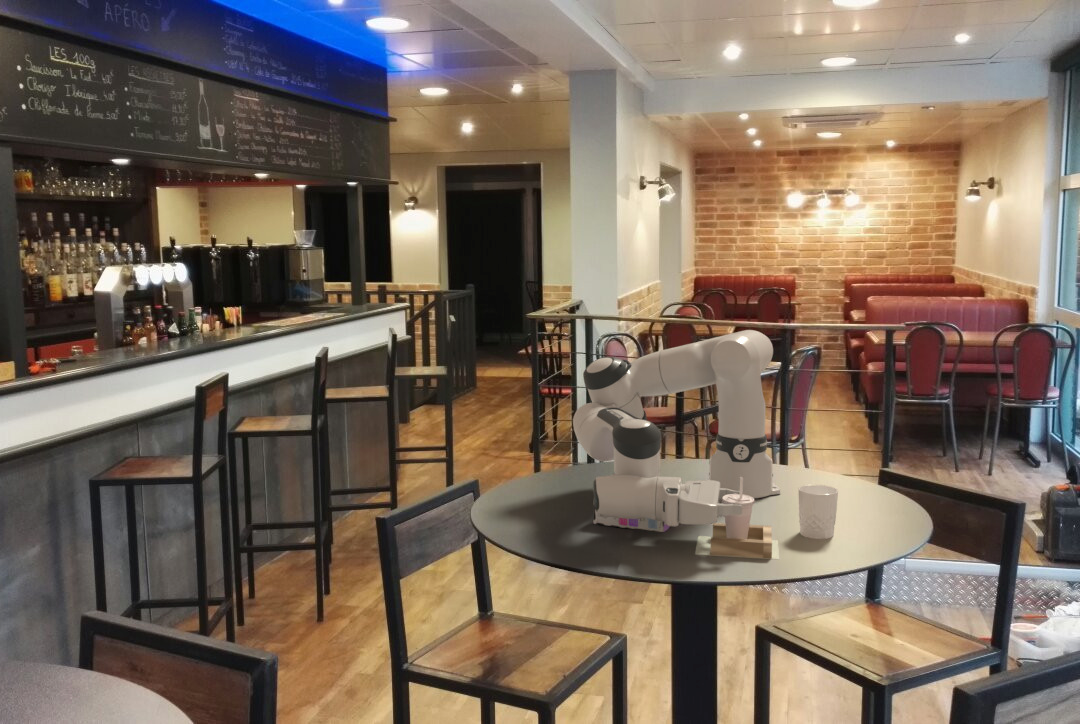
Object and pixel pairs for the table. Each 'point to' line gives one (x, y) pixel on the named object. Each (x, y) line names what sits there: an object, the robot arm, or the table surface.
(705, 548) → the mat
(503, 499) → the table surface
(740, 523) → the smoothie
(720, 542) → the rack
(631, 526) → the candy box
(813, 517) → the white cup
